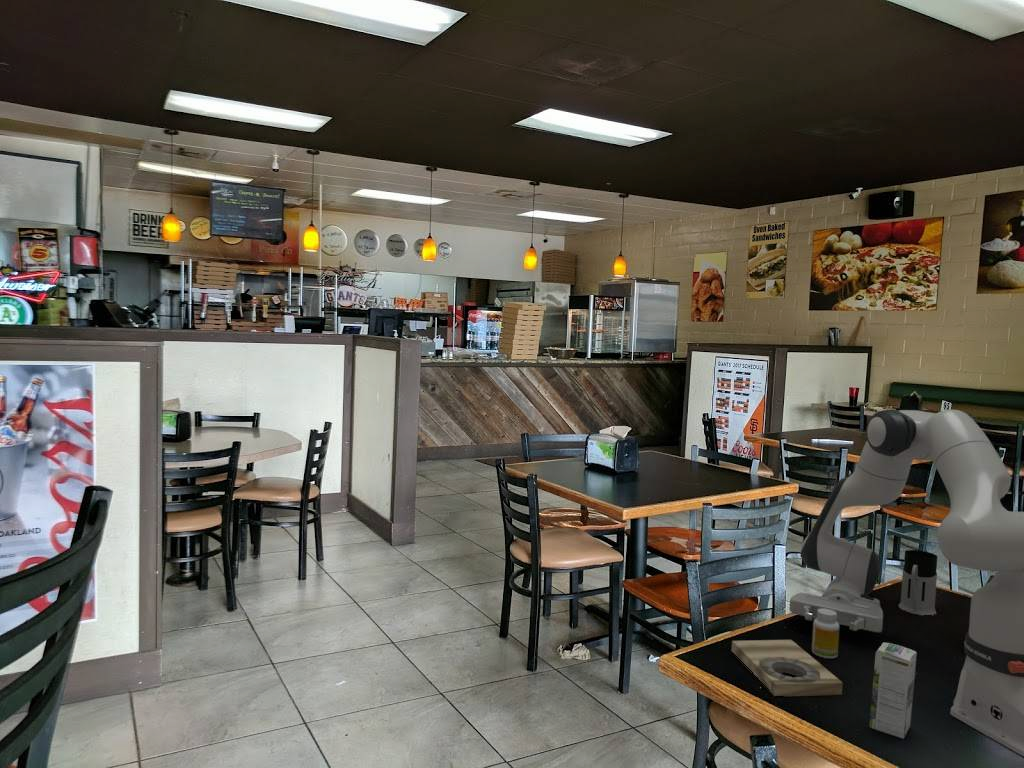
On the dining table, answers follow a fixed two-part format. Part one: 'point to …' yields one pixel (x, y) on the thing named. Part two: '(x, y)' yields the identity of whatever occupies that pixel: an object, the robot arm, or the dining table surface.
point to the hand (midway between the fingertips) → (830, 622)
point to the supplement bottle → (825, 634)
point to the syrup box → (893, 689)
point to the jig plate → (786, 668)
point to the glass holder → (919, 582)
